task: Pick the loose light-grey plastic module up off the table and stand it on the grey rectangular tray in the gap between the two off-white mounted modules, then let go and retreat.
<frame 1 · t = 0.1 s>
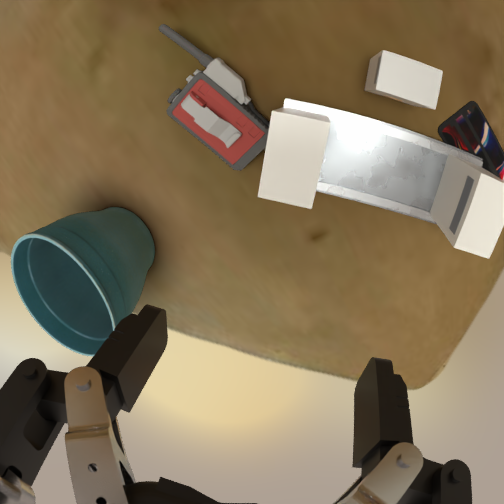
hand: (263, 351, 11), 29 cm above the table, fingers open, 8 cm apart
module a: (300, 143, 35), resting on grey rectangular tray
smartphone: (481, 162, 31), on the table
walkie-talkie: (209, 94, 34), point 1 cm above the table, touching module a, grey rectangular tray
flower pot: (123, 239, 48), on the table
module b: (452, 187, 33), resting on grey rectangular tray
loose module: (392, 82, 29), on the table
grey rectangular tray: (382, 163, 34), on the table
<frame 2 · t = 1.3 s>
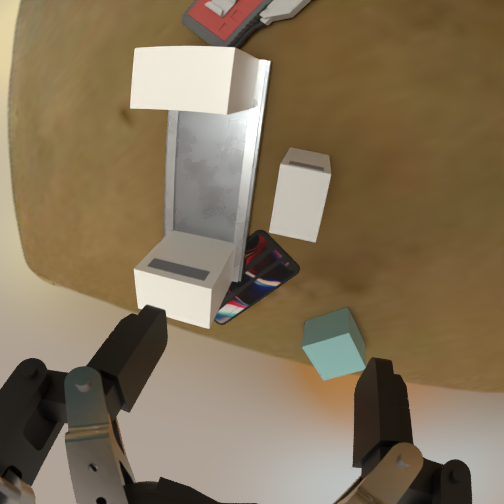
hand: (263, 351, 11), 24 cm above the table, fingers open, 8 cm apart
module a: (220, 80, 29), resting on grey rectangular tray
smartphone: (239, 279, 40), on the table
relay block: (325, 326, 37), point 2 cm above the table, tilted 90°
module b: (205, 250, 39), resting on grey rectangular tray
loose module: (304, 178, 32), on the table
grey rectangular tray: (211, 171, 34), on the table
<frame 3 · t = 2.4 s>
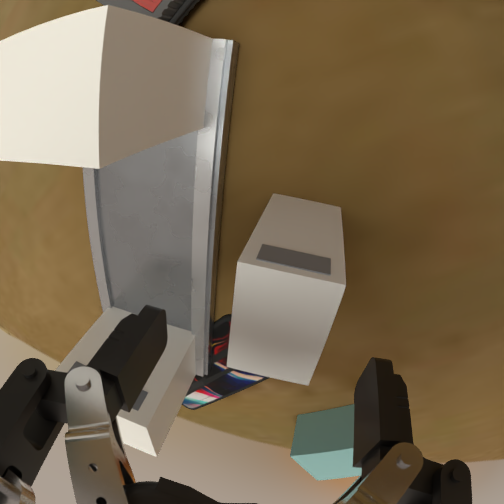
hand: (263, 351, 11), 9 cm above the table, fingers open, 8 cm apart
module a: (155, 81, 16), resting on grey rectangular tray
smartphone: (209, 366, 28), on the table
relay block: (323, 430, 25), point 2 cm above the table, tilted 90°
module b: (158, 331, 26), resting on grey rectangular tray
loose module: (297, 245, 20), on the table
grey rectangular tray: (151, 228, 21), on the table
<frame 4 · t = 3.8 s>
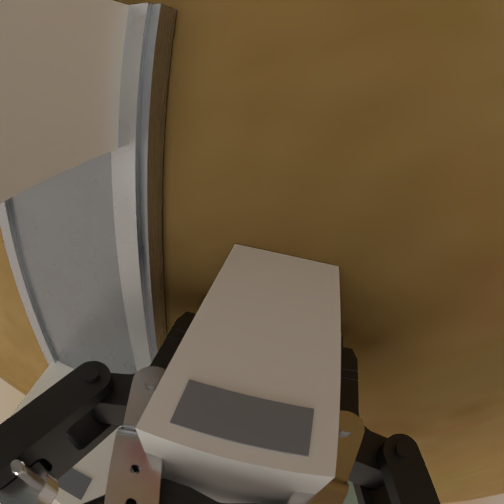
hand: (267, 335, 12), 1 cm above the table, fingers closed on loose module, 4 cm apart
module a: (66, 80, 10), resting on grey rectangular tray
module b: (113, 388, 20), resting on grey rectangular tray
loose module: (273, 315, 13), on the table, touching gripper
grey rectangular tray: (82, 279, 15), on the table
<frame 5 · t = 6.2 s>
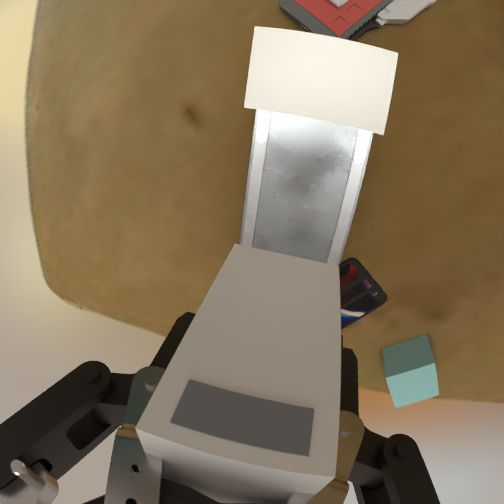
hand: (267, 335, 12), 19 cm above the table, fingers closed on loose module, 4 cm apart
module a: (321, 83, 24), resting on grey rectangular tray
smartphone: (318, 309, 35), on the table
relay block: (407, 355, 32), point 2 cm above the table, tilted 90°
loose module: (273, 315, 13), point 18 cm above the table, touching gripper
grey rectangular tray: (302, 189, 29), on the table
when the fingers open (4 cm above the table, at t = 8.6 s): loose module drops 1 cm, resting on grey rectangular tray.
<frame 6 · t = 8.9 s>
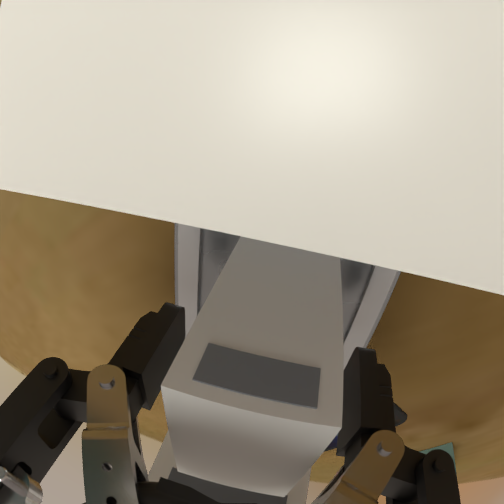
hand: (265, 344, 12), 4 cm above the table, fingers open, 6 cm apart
module a: (321, 67, 10), resting on grey rectangular tray
module b: (254, 397, 20), resting on grey rectangular tray
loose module: (279, 298, 14), point 1 cm above the table, touching grey rectangular tray
grey rectangular tray: (280, 283, 15), on the table
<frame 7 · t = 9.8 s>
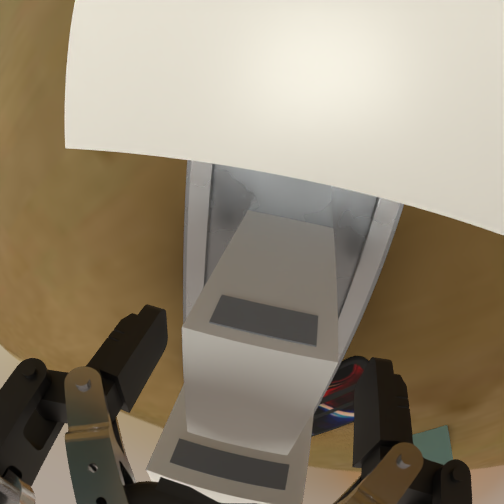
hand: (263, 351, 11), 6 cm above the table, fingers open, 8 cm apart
module a: (315, 67, 12), resting on grey rectangular tray
smartphone: (305, 406, 24), on the table
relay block: (420, 454, 21), point 2 cm above the table, tilted 90°
module b: (255, 376, 22), resting on grey rectangular tray
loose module: (279, 273, 16), point 1 cm above the table, touching grey rectangular tray
grey rectangular tray: (280, 261, 17), on the table
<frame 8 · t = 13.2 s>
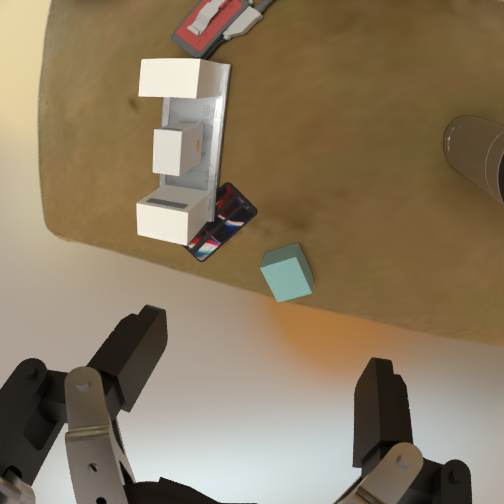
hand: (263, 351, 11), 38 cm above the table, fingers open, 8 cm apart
module a: (198, 78, 42), resting on grey rectangular tray
smartphone: (214, 223, 54), on the table
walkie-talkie: (233, 11, 36), on the table, touching module a, grey rectangular tray
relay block: (279, 254, 51), point 2 cm above the table, tilted 90°
module b: (188, 199, 52), resting on grey rectangular tray
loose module: (189, 142, 46), point 1 cm above the table, touching grey rectangular tray
grey rectangular tray: (192, 140, 47), on the table
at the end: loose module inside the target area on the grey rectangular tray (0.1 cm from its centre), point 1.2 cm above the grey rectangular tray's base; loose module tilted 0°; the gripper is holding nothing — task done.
